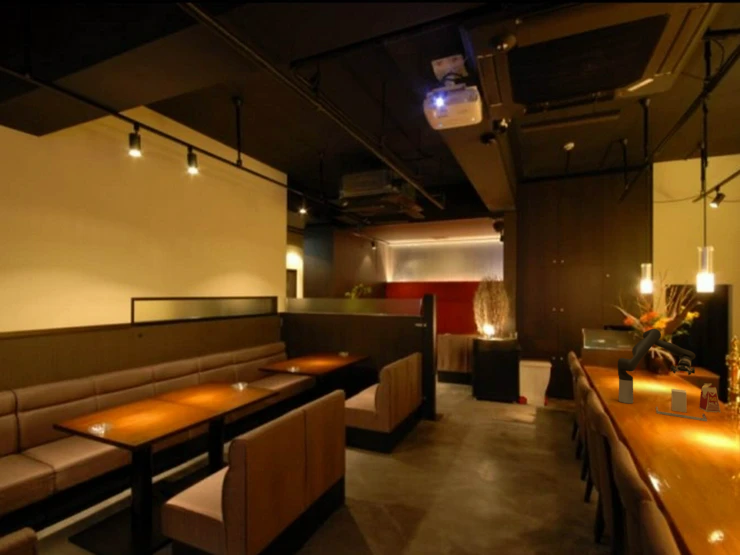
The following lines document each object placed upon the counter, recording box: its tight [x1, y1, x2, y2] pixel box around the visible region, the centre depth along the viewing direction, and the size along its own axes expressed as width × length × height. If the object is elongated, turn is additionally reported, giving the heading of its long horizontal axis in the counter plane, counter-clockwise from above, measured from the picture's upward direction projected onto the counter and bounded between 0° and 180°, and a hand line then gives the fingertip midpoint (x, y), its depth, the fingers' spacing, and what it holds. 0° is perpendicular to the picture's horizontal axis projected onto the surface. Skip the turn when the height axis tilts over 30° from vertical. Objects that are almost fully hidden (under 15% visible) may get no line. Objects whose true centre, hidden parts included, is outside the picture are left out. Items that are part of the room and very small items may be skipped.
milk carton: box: [698, 382, 722, 414], centre depth 281 cm, size 9×9×20 cm
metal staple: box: [655, 406, 708, 422], centre depth 270 cm, size 27×14×2 cm, turn 55°
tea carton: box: [671, 388, 688, 413], centre depth 281 cm, size 8×8×14 cm
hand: (681, 373), depth 292 cm, fingers open, 8 cm apart
